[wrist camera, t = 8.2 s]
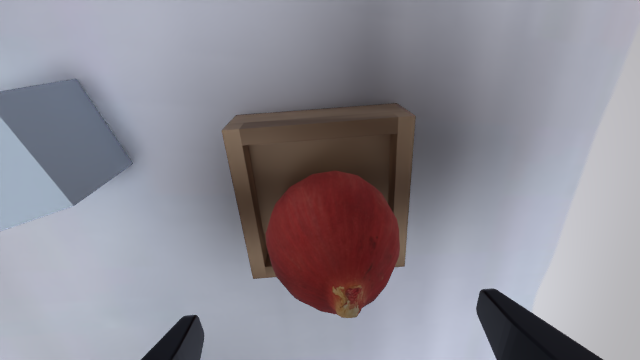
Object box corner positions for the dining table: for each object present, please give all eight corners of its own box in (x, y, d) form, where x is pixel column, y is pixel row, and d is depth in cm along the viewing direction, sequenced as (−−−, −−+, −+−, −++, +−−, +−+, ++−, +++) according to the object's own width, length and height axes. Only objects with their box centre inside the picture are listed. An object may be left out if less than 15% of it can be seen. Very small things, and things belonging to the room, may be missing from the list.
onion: (387, 209, 17) (463, 328, 10) (304, 254, 18) (321, 395, 11) (343, 127, 15) (401, 210, 8) (248, 183, 16) (222, 306, 8)
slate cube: (133, 163, 17) (73, 206, 13) (60, 188, 18) (-23, 239, 13) (77, 78, 15) (-19, 94, 11) (-4, 110, 16) (-128, 138, 11)
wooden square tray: (388, 230, 21) (404, 266, 18) (261, 240, 21) (253, 278, 17) (393, 101, 17) (415, 115, 14) (238, 113, 17) (221, 130, 14)
